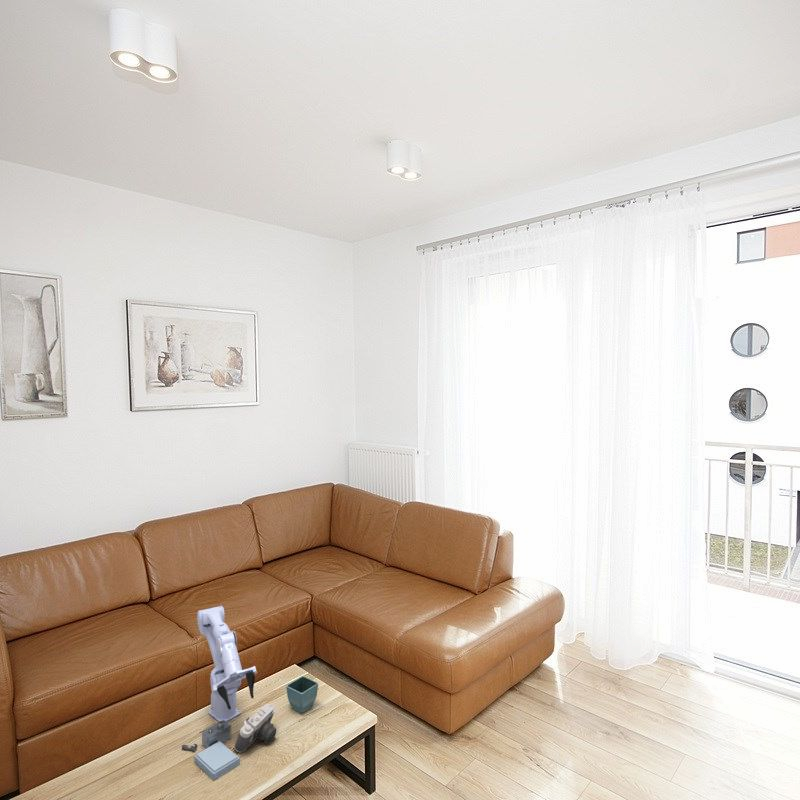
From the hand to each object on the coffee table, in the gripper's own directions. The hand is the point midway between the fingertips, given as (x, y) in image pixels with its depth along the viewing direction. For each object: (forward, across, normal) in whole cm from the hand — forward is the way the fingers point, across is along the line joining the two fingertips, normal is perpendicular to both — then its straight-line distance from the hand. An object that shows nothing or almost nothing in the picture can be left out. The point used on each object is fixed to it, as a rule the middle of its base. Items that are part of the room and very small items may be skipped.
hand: (240, 702), depth 170 cm
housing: (+3, -12, +13) cm, 18 cm away
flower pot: (+1, +18, +25) cm, 31 cm away
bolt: (+1, -20, +11) cm, 23 cm away
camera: (+9, +2, +14) cm, 17 cm away
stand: (+11, -12, +7) cm, 18 cm away
